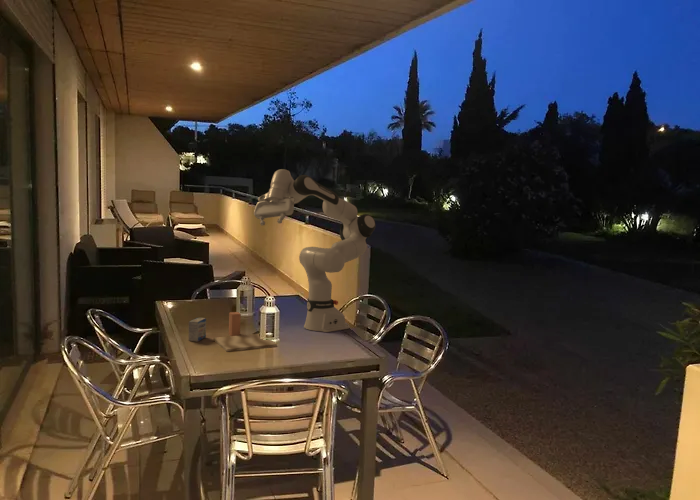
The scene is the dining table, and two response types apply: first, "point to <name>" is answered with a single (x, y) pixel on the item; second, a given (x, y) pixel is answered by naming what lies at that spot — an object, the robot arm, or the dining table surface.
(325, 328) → the robot arm
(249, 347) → the birch board
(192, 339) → the medicine box
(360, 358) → the dining table surface
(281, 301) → the dining table surface
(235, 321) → the terracotta block
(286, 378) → the dining table surface
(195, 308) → the dining table surface
